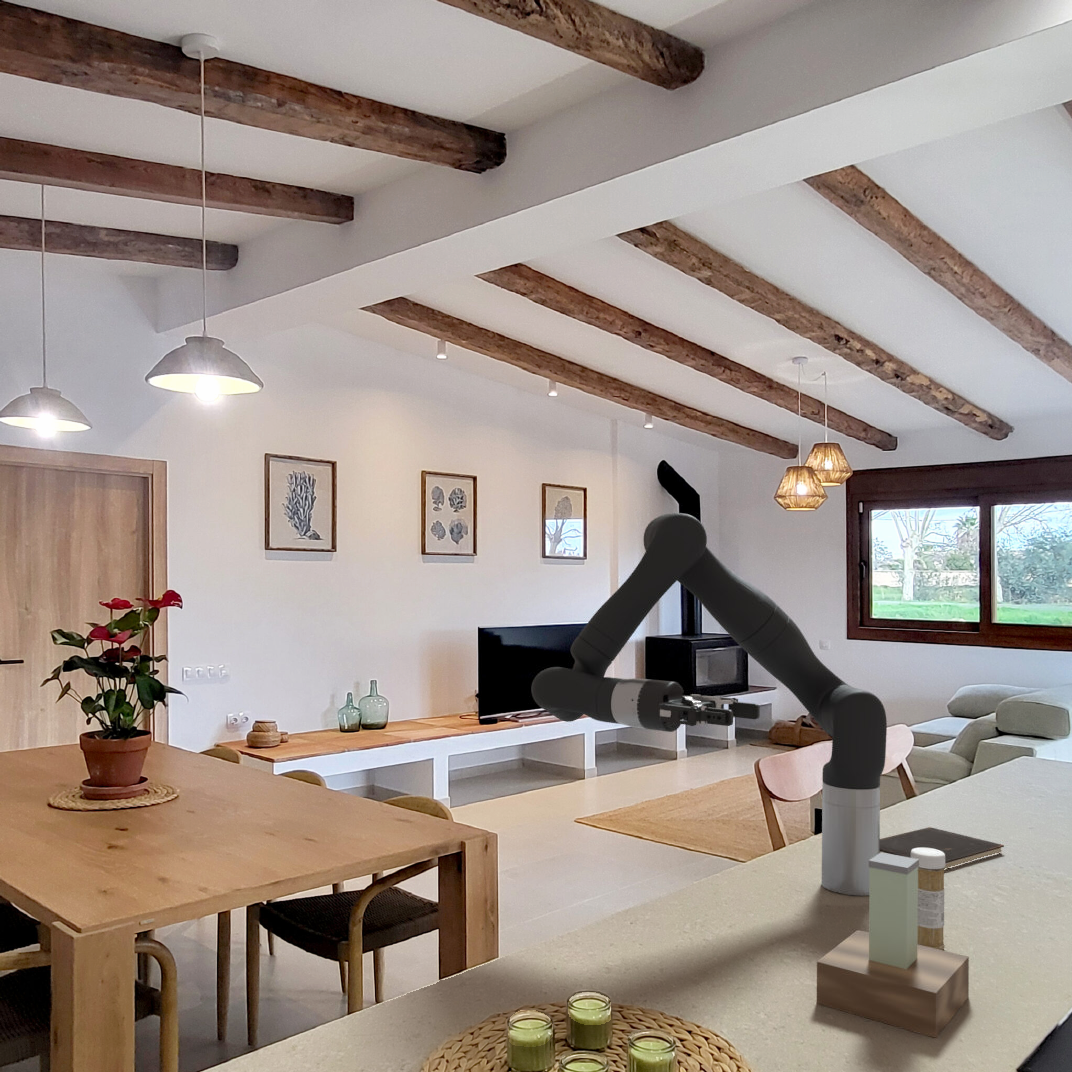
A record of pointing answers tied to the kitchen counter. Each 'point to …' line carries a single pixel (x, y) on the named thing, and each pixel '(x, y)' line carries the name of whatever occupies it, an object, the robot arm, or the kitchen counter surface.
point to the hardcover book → (940, 845)
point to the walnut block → (894, 985)
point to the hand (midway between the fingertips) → (745, 714)
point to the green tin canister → (893, 910)
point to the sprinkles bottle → (930, 896)
